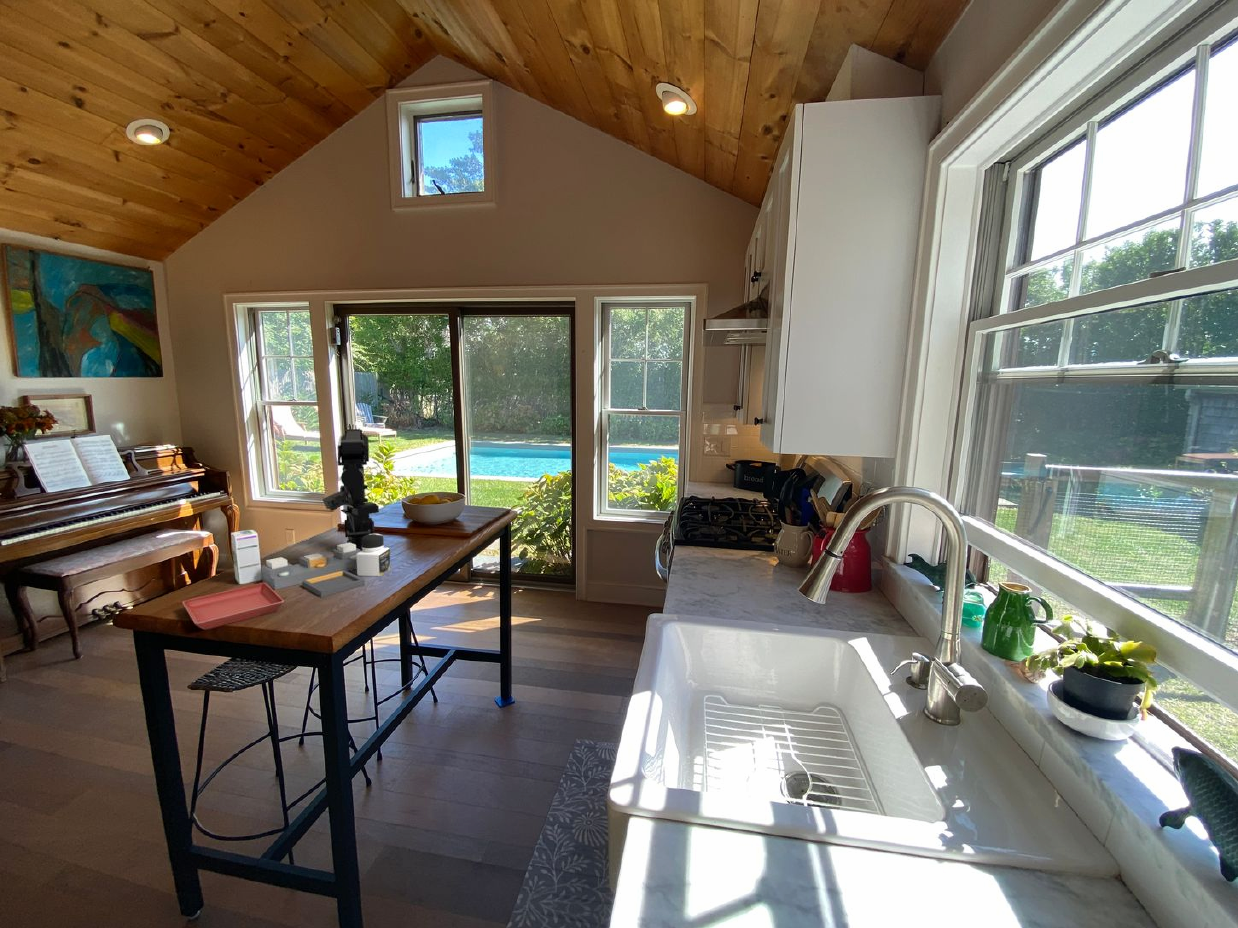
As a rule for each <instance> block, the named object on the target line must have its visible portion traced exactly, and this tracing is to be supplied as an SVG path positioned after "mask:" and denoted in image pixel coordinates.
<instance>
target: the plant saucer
mask: <svg viewBox="0 0 1238 928" xmlns="http://www.w3.org/2000/svg"><path fill="white" fill-rule="evenodd" d="M284 601H285V599H283V598H282V597H281V596H280V595H279V594H278V593H277V592H276V590H274V589H273V588H271V587H270V586H268V585H267V584H266V583H263V582H260V583H256V584H255V583H254V584H251V585H247V586H242V587H238V588H234V589H229V590H226V591H220V592H216V593H212V594H208V595H202V596H198V597H194V598H190V599H186V600H183V601H182V602H181V603H182V605H183V606H184V608H185V610H186V612H187V613H188V615H189V616H190V618H191V620H192V622H193V623H194V625H196V626H197V627H198V628H199V629H202V630H204V631H205V630H210V629H213V628H214V629H215V628H217V627H221V626H226V625H229V623H230V624H233V622H234V623H237V622H240V621H241V622H242V621H245V620H249V619H253V618H257V617H260V616H265V615H269V614H272V613H275V612H276V611H277V610H278V609H279V608H280V607H281V605H282V604H283V603H284ZM252 617H253V618H252ZM225 624H226V625H225Z"/></svg>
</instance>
